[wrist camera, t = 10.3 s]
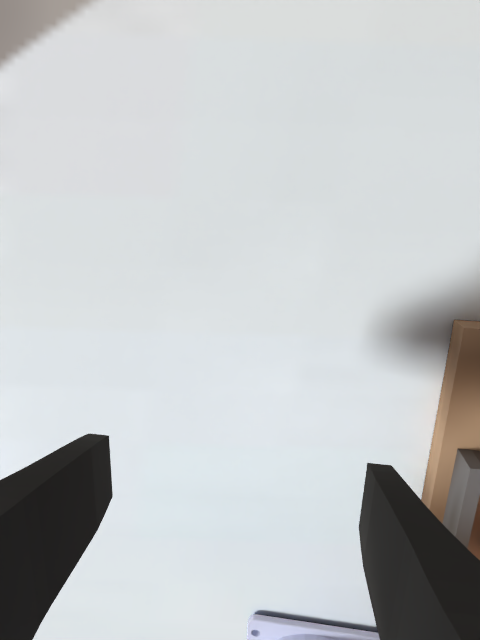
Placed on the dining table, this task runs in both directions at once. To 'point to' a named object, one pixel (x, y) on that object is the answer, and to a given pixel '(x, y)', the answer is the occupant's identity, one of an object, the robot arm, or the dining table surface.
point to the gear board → (458, 441)
